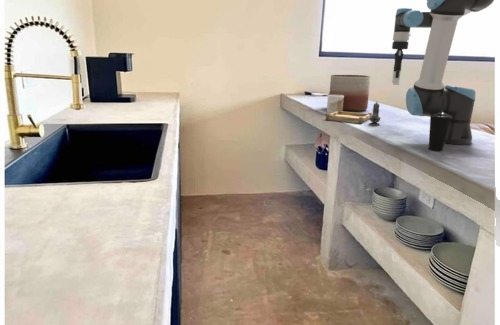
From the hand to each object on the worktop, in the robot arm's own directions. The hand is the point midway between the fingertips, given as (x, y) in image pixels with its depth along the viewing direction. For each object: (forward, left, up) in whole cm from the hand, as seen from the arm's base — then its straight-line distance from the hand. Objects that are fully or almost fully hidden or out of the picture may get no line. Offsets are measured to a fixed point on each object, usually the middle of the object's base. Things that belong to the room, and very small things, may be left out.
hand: (395, 83), depth 193 cm
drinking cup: (-50, -28, -21) cm, 61 cm away
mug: (+16, +36, -21) cm, 45 cm away
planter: (+37, +35, -21) cm, 56 cm away
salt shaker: (-8, +6, -21) cm, 24 cm away
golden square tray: (-1, +22, -21) cm, 31 cm away
